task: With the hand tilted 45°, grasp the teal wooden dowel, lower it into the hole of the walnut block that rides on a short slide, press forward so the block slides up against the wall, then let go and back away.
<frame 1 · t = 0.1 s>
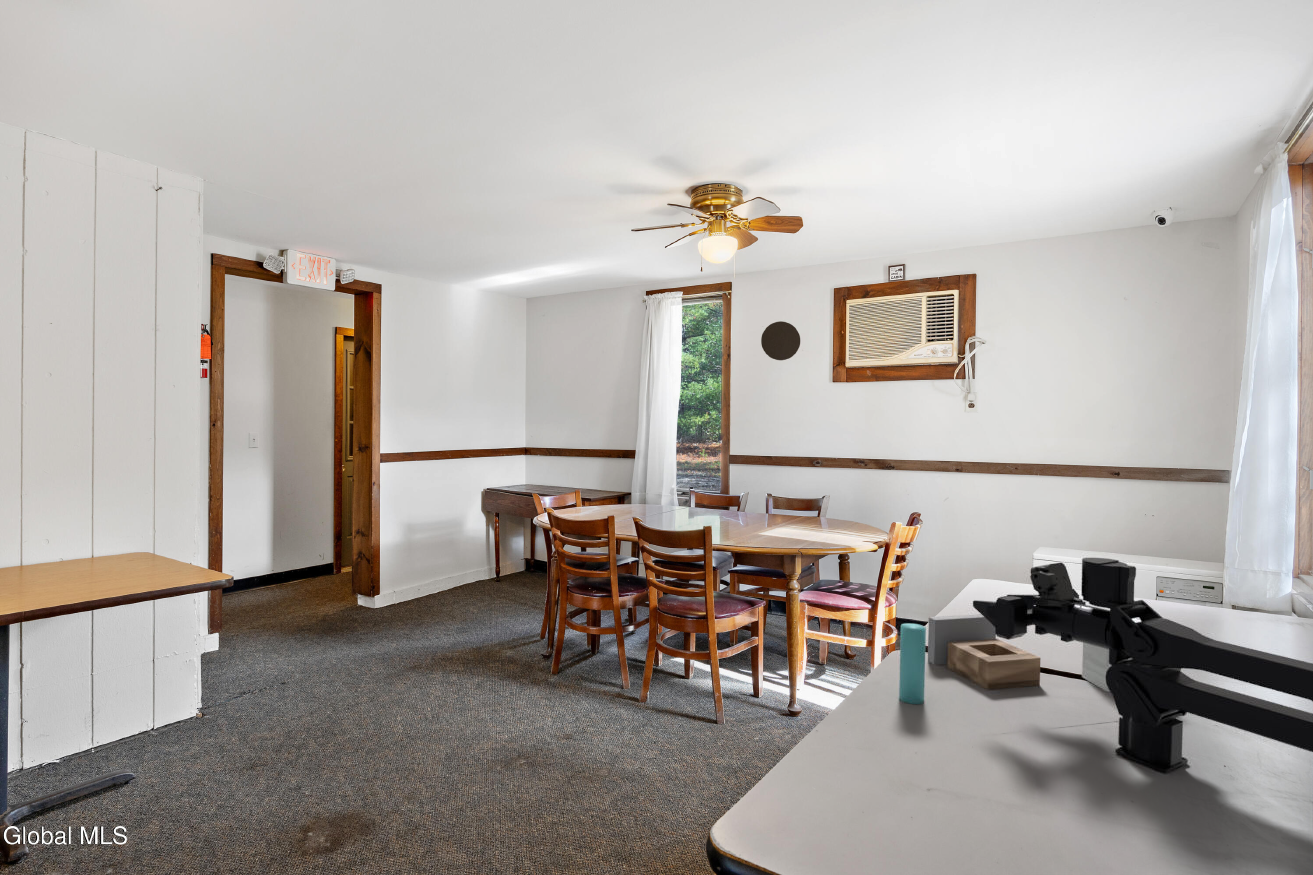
hand: (990, 600, 118), 17 cm above the table, tool horizontal, fingers open, 9 cm apart
hole block: (992, 662, 127), point 3 cm above the table, slide at 0.0 cm
dowel: (911, 699, 116), on the table
supplement box: (1112, 686, 124), on the table
backstop wall: (961, 661, 135), on the table
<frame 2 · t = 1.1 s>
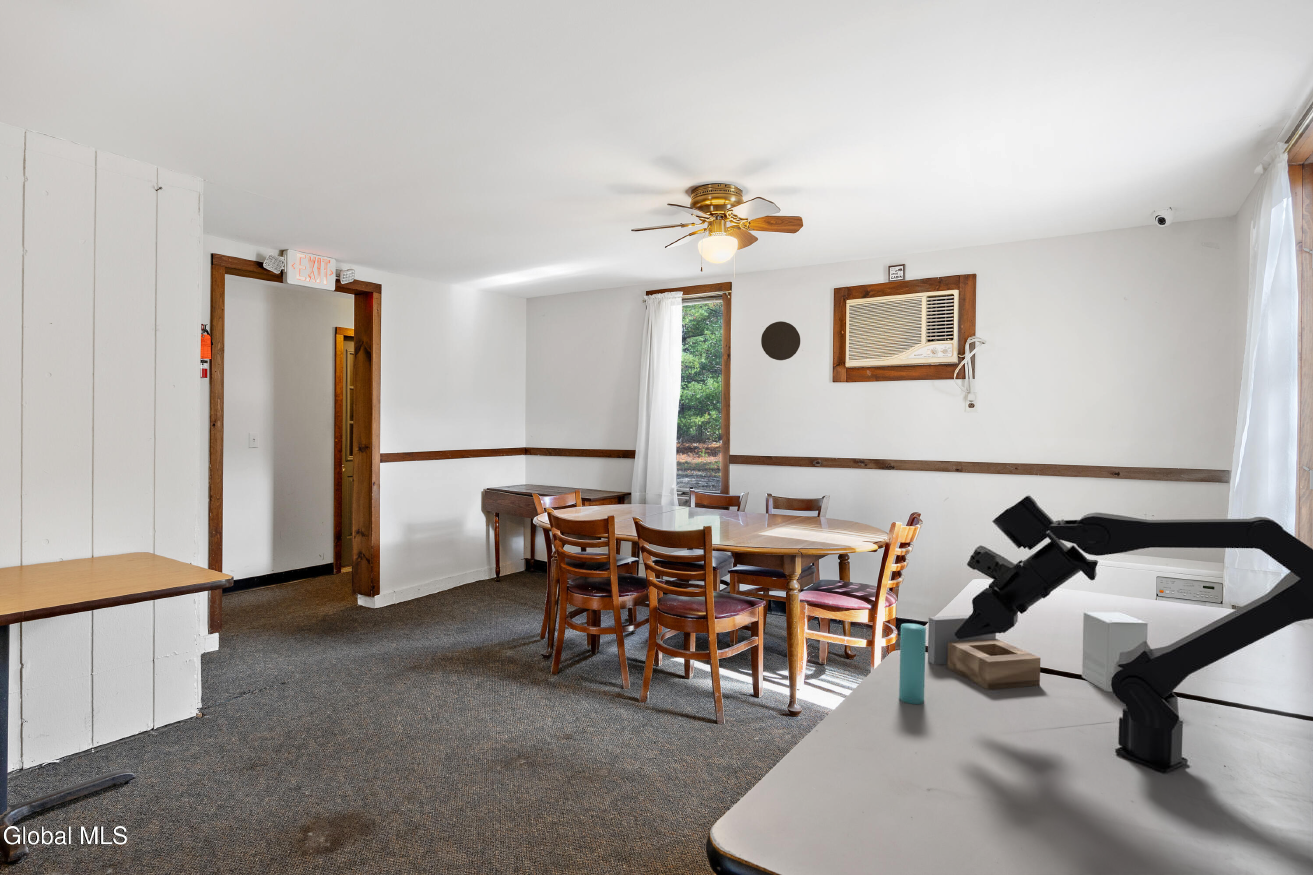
hand: (963, 629, 111), 14 cm above the table, tool tilted 45°, fingers open, 9 cm apart
nothing on the table moved.
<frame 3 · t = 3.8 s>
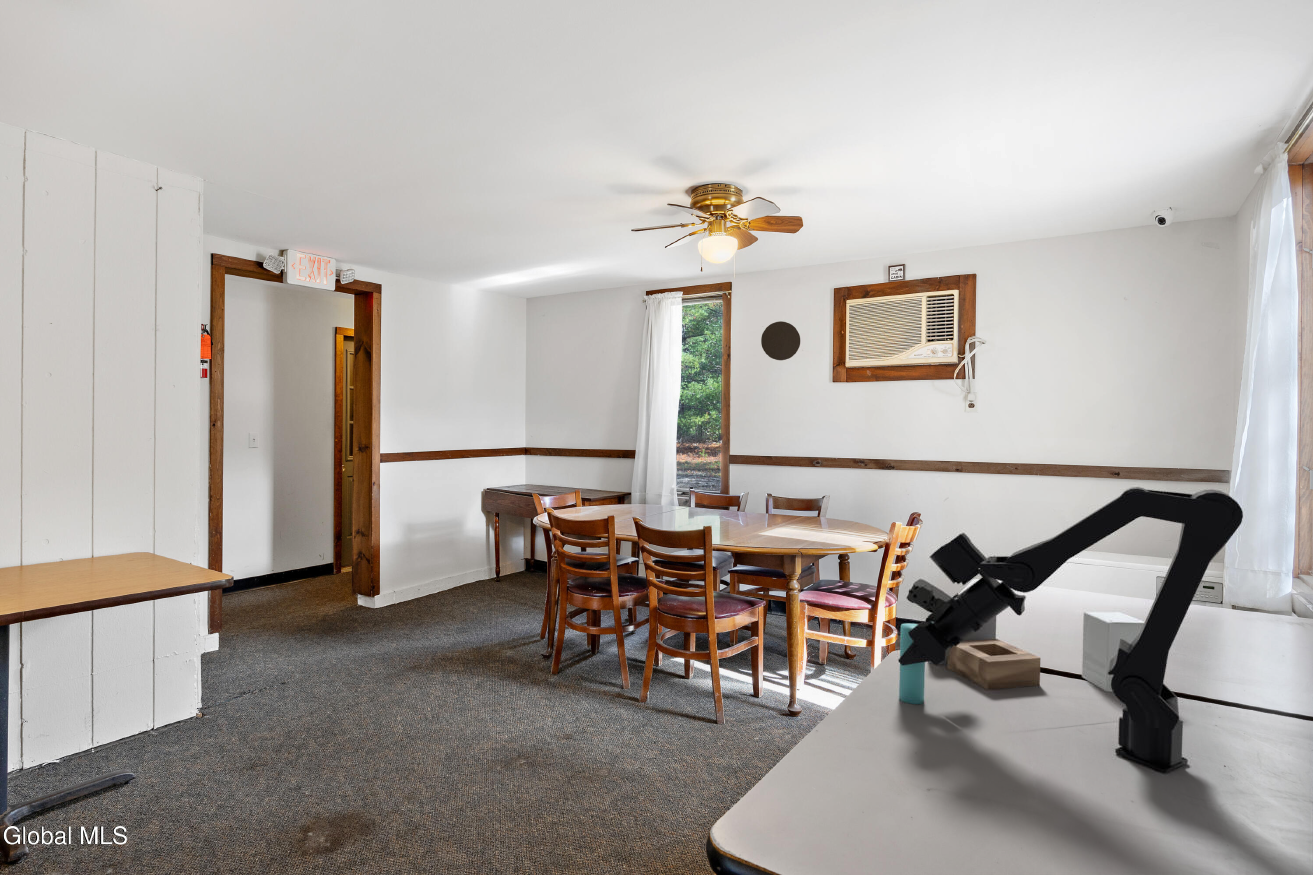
hand: (904, 659, 116), 7 cm above the table, tool tilted 45°, fingers closed on dowel, 4 cm apart
dowel: (911, 699, 116), on the table, touching gripper
everything else where it was.
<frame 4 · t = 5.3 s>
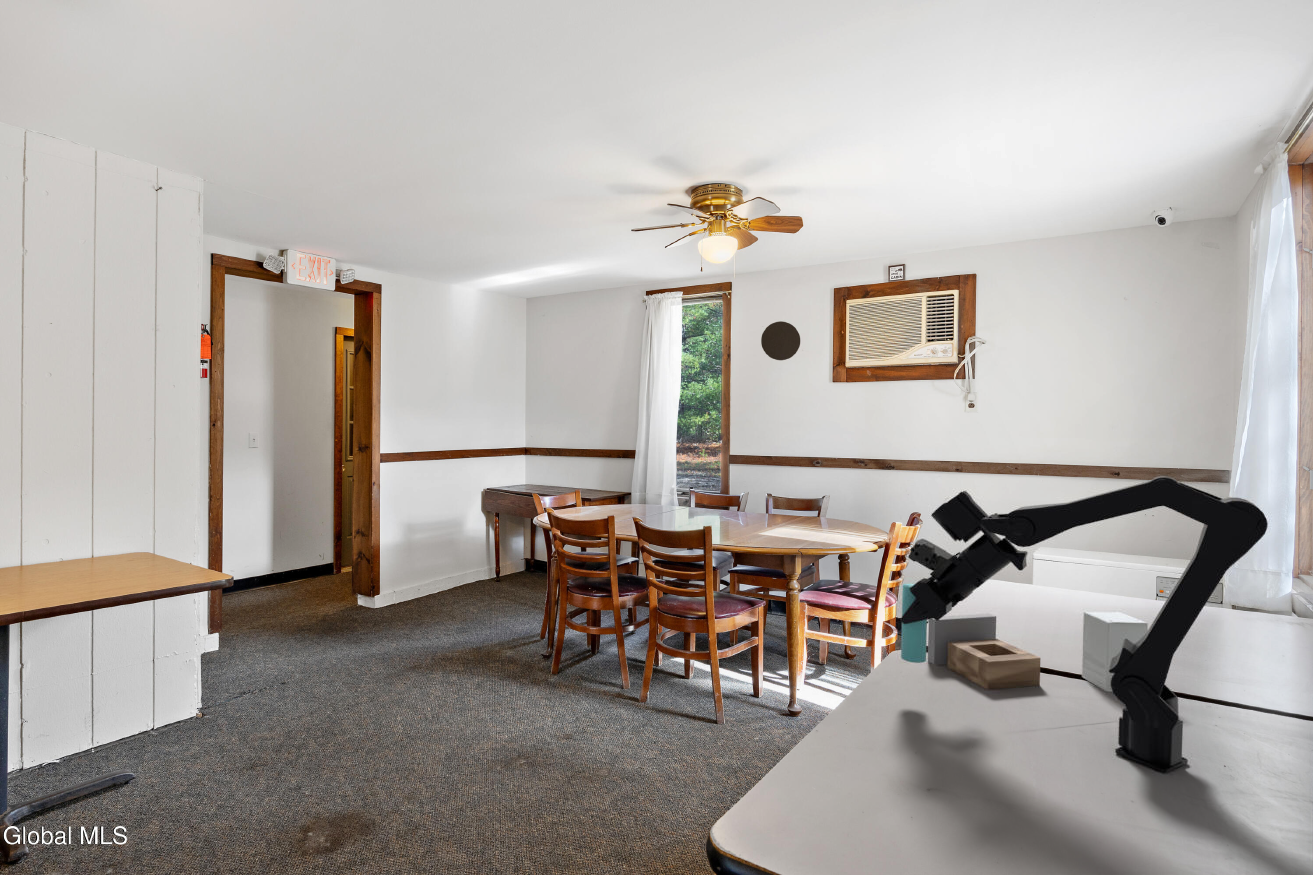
hand: (906, 618, 117), 13 cm above the table, tool tilted 45°, fingers closed on dowel, 4 cm apart
dowel: (913, 658, 116), point 7 cm above the table, touching gripper
everything else where it was.
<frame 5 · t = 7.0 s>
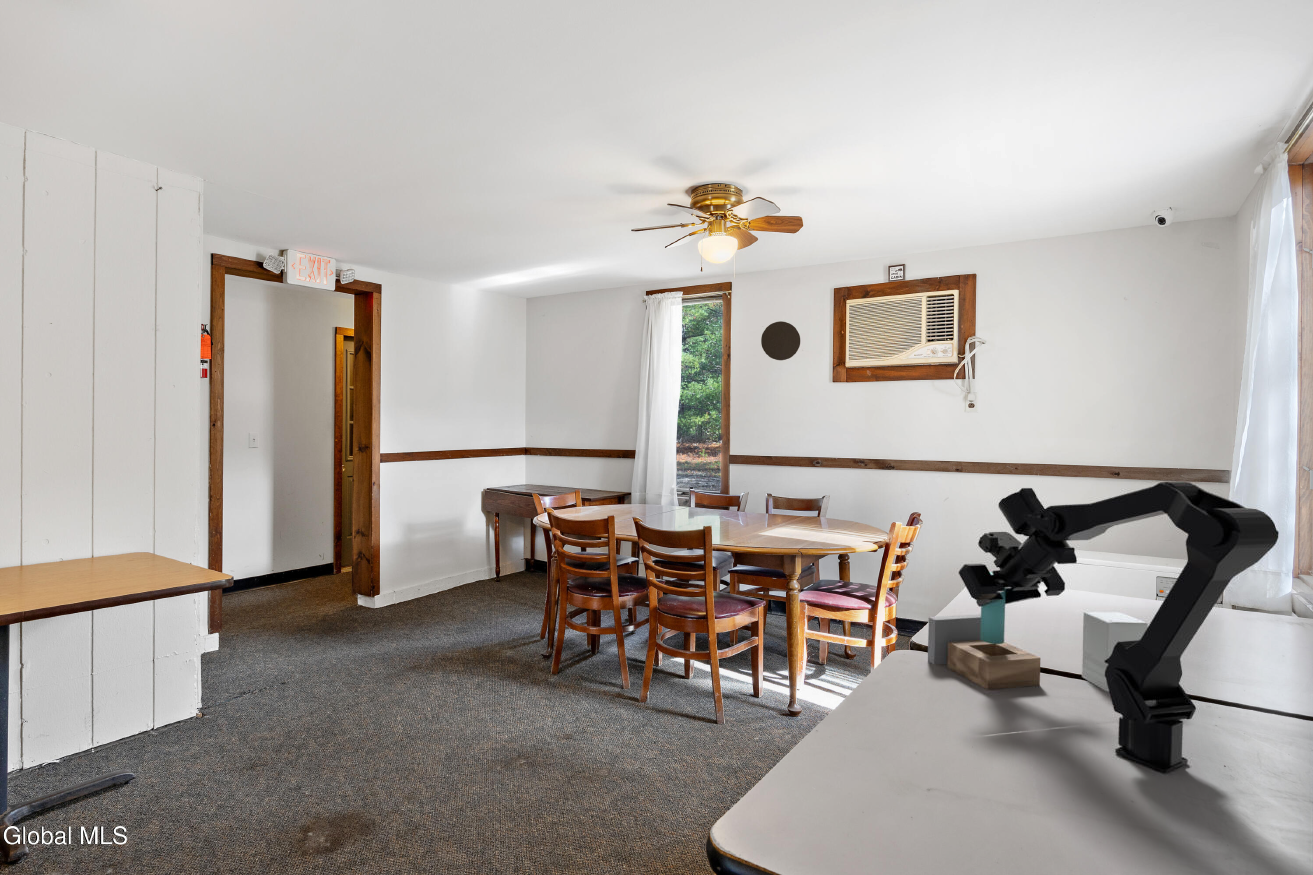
hand: (988, 603, 128), 13 cm above the table, tool tilted 45°, fingers closed on dowel, 4 cm apart
dowel: (992, 640, 127), point 7 cm above the table, touching gripper
everything else where it was.
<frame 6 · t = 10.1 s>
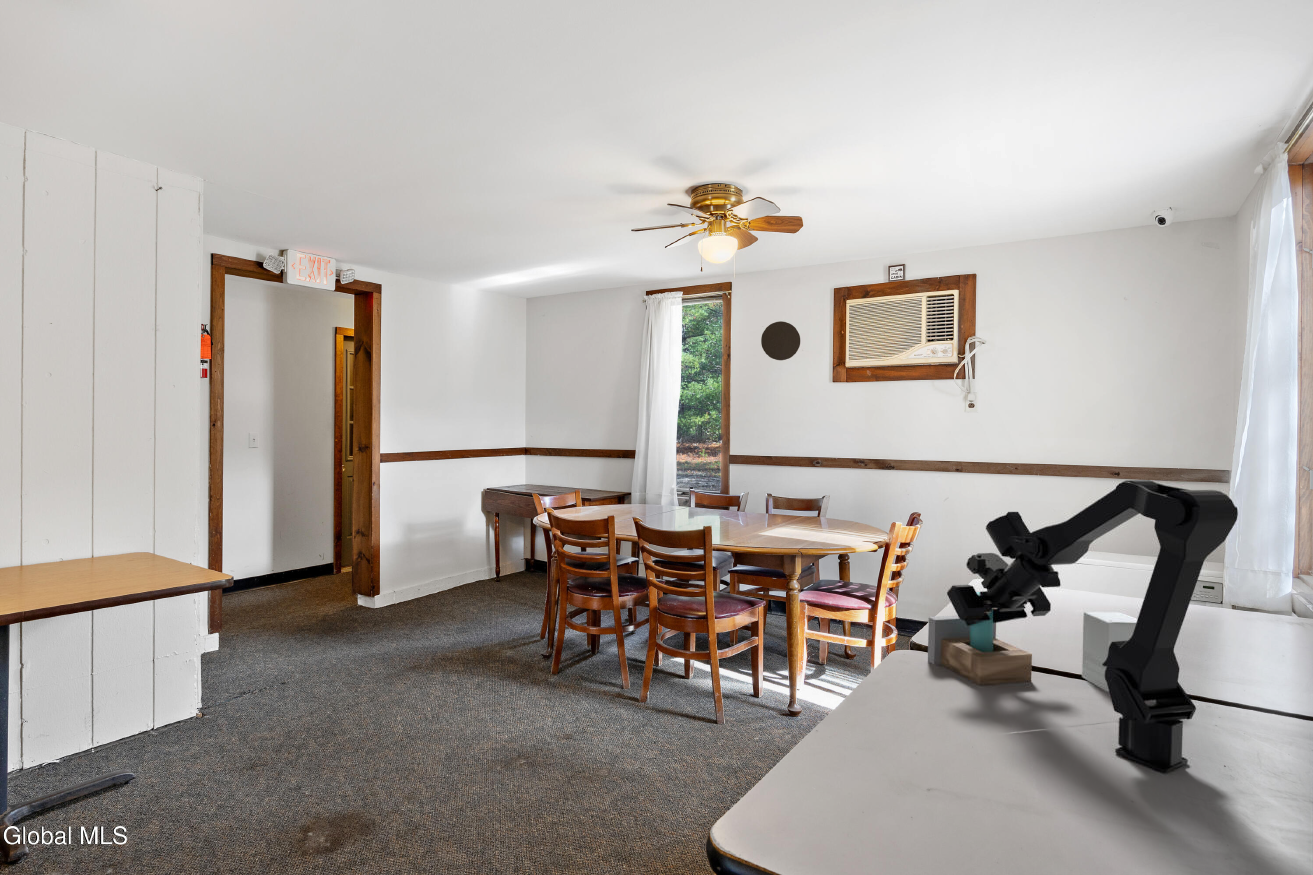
hand: (976, 622, 131), 9 cm above the table, tool tilted 45°, fingers closed on dowel, 4 cm apart
hole block: (984, 659, 129), point 3 cm above the table, slide at 2.0 cm, touching backstop wall, dowel
dowel: (981, 659, 129), point 2 cm above the table, touching gripper, hole block
everything else where it was.
when the fingers open (9 cm above the table, at t = 10.3 s): dowel drops 1 cm, resting on hole block.
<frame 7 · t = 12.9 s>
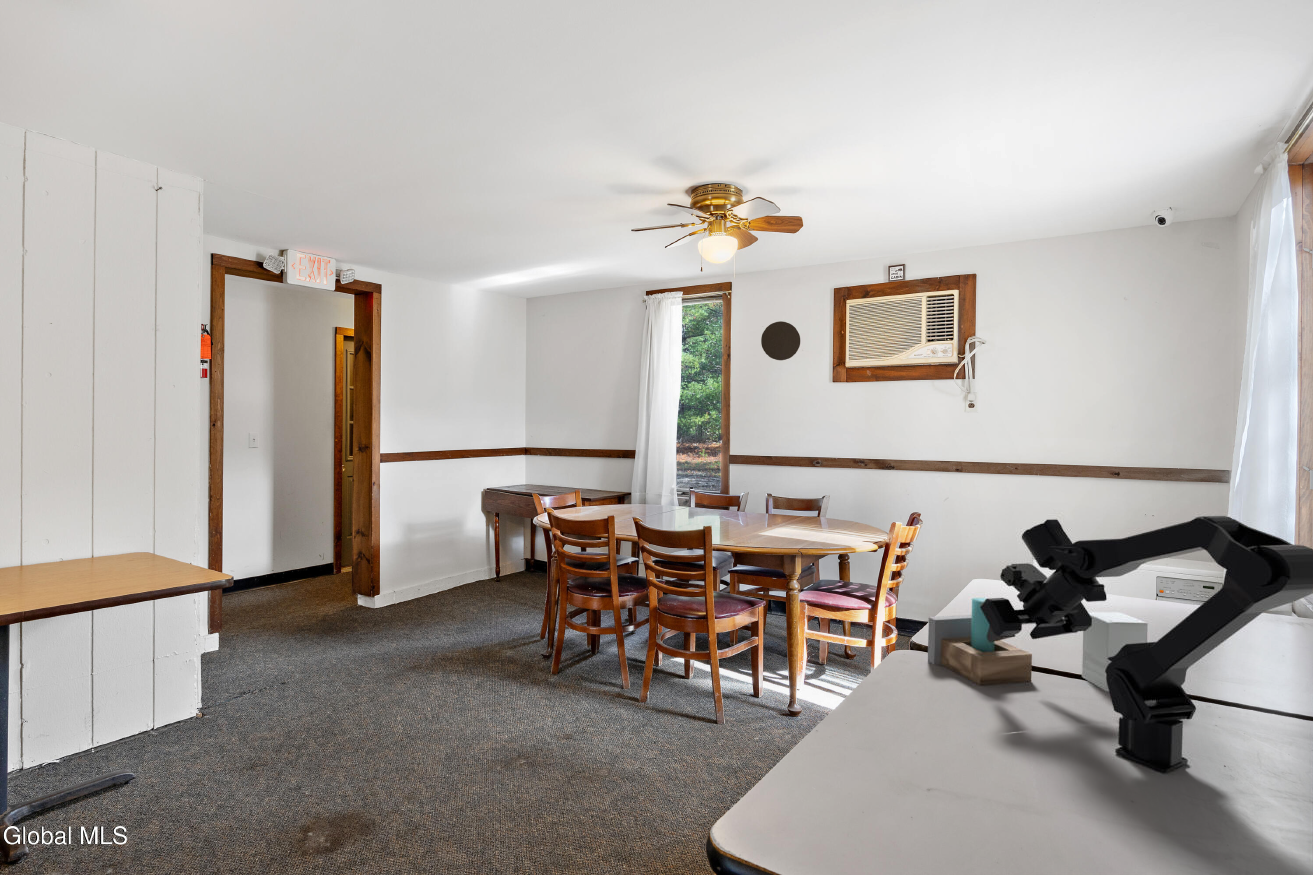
hand: (1010, 638, 122), 9 cm above the table, tool tilted 45°, fingers open, 9 cm apart
hole block: (984, 659, 129), point 3 cm above the table, slide at 2.0 cm, touching dowel
dowel: (982, 665, 129), point 1 cm above the table, touching hole block
everything else where it was.
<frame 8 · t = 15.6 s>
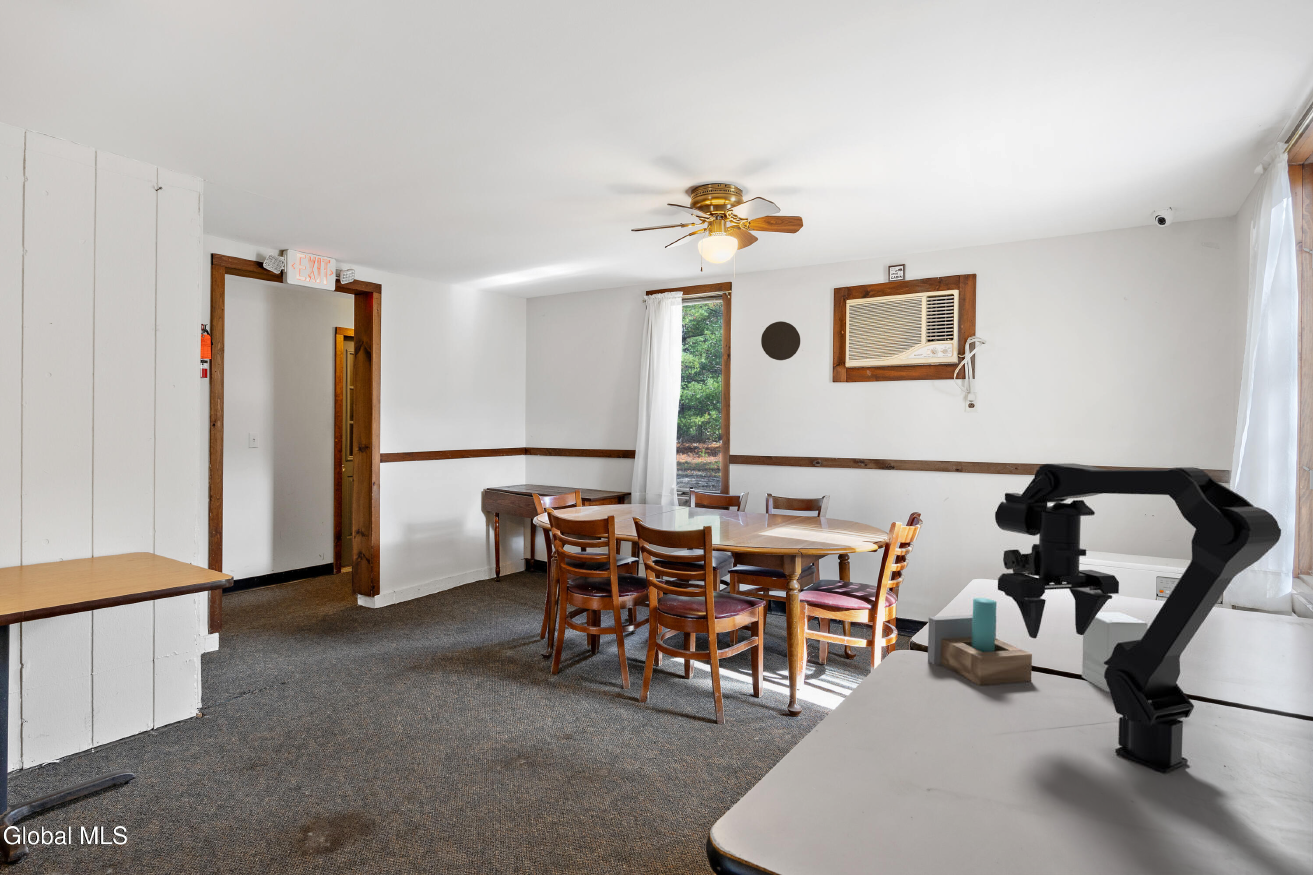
hand: (1056, 636, 110), 13 cm above the table, tool pointing down, fingers open, 9 cm apart
nothing on the table moved.
at the end: dowel 0.7 cm from the hole block (horizontally); dowel point 1.2 cm above the table; hole block slide at 2.0 cm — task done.
